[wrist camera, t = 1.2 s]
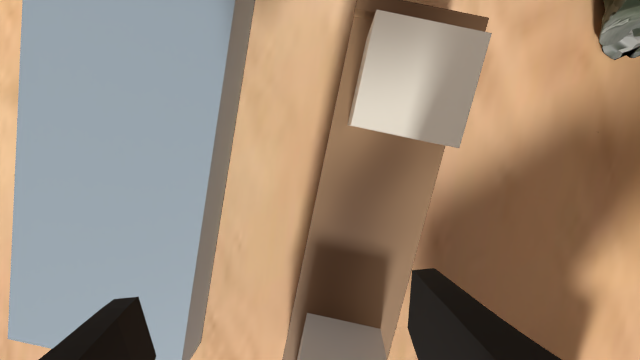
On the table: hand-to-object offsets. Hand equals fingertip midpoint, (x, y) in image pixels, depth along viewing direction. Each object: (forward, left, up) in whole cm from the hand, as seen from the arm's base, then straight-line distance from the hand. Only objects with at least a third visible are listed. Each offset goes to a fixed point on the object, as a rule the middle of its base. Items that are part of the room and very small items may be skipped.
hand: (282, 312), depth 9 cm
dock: (+10, -1, -11) cm, 15 cm away
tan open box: (-3, -1, -11) cm, 12 cm away
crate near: (-3, -7, -7) cm, 10 cm away
